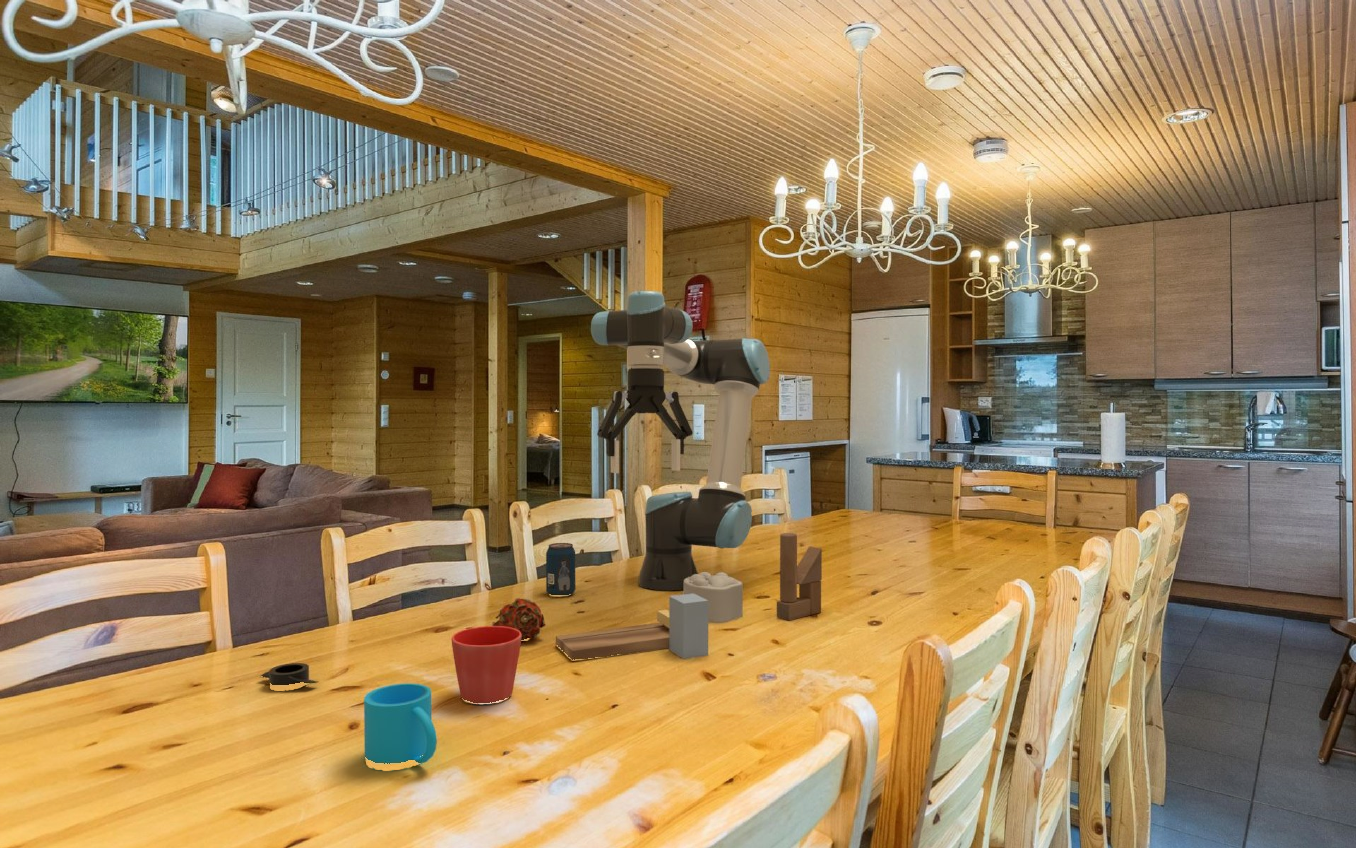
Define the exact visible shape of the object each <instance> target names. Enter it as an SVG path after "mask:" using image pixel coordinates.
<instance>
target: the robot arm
mask: <svg viewBox="0 0 1356 848" xmlns="http://www.w3.org/2000/svg"><path fill="white" fill-rule="evenodd" d="M626 308H627V309H623V310H621V309H620V310H605V311H600V312H597V313H595V314H594V316H593V317H592V319H591V322H590V324H591V326H590V333H591V336H592V339H593V340H594V342H595V343H596V344H598V345H600V346H607V347H608V346H617V347H620V348H623V349H625V350H627V356H626V357H627V359H626V360H627V361H626V362H627V363H626V365H627V366H628V367H629V369H628V370H627V374H626V375H627V383H626V385H627V390H626V392H622V391H619V390H617V391H616V390H614V391H613V392H612V398H611V403H610V405H609V408H607V411H606V413H605V416H604V418H603V420H602V422H601V423H600V426H599V429H598V430H597V432H596V435H597V437H598V438H602V439H604V440H605V441H606V447H605V448H606V456H607V457H610V473H613V474H620V441H619V440H615V439H616V438H618V436H619V435H620V433H621V432H622V430H623V429H624V428H625V427H626V426H627V424H628V423H629V422H630V420H631V419H632V418H633V416H635V415H636V414H656V416H658V418H660V420H661V421H662V423H664V425H665V426H666V427H667V429H668V430H669V431H670V432H671V434H672V435H673V436H674V438H671V440H670V441H671V443H670V444H671V449H670V451H671V452H670V453H671V471H674V472H675V471H676V472H681V455H684V452H685V439H687V437H690V436H692V435H693V434H694V433H693V430H692V428H691V425H690V424H689V422H688V419H687V417H686V415H685V412H684V410H683V407H682V406H681V404H680V399H679V392H678V391H669V392H665V389H664V388H665V370H664V369H663V368H662V367H664V366H665V367H666V368H667V369H668V371H669V372H671V373H672V374H674V375H677V376H679V377H681V378H684V379H687V380H689V381H692V382H696V383H699V384H706V385H713V388H714V390H715V391H716V392H717V393H718V396H717V397H718V398H717V404H716V410H715V412H716V413H715V419H714V427H713V433H712V441H711V448H710V454H709V455H710V456H709V463H708V471H707V476H706V483H705V484H704V485H703V486H701V488H700V489H699V490H698V495H697V498H695V497H693V494H692V492H691V491H678V492H667V493H661V494H655V495H650V496H648V498H647V499H646V503H645V513H644V515H645V555H644V558H643V562H642V565H641V568H640V572H639V573H638V586H640V585H641V586H640V587H642V588H644V587H646V588H645V589H648V588H649V589H648V590H655V591H679V590H681V591H682V590H683V587H684V580H685V579H686V578H688V577H691V576H692V575H694V574H699V572H698V570H697V569H698V568H697V566H696V563H695V561H694V558H693V553H692V552H693V551H692V547H693V546H697V547H698V546H699V547H710V548H718V549H736V548H738V547H740V546H742V545H743V543H744V542H745V541H746V539H747V538H748V536H749V532H750V530H751V526H752V521H753V515H752V512H753V510H752V506H751V504H750V503H749V502H748V501H746V494H745V493H744V491H743V489H742V488H741V486H742V480H743V471H744V465H745V464H744V463H745V456H746V455H745V454H746V447H747V440H748V432H749V423H750V417H751V411H752V410H751V409H752V408H751V407H752V401H753V398H754V397H756V396H757V395H759V391H760V385H764V384H766V383H768V381H769V379H770V373H771V370H770V369H771V368H770V359H769V354H768V351H767V349H766V347H765V345H764V343H763V342H762V341H761V340H759V339H758V338H757V339H756V338H745V337H742V338H734V339H732V338H730V339H706V340H691V339H690V336H691V335H692V332H693V320H692V318H691V317H690V315H689V314H688V313H687V312H686V311H684V310H683V309H680V308H678V307H670V306H666V303H665V297H664V294H663V293H662V292H660V291H654V290H640V291H639V290H637V291H633V292H631V293H630V294H629V295H628V297H627V307H626ZM625 400H626V401H627V402H628V404H629V405H627V407H626V408H625V410H624V412H623V413H622V414H621V416H620V417H619V418H618V419H617V420H616V422H615V421H614V420H615V419H616V417H617V414H618V412H619V410H620V408H621V406H622V403H623V402H624V401H625ZM665 400H666V402H667V403H668V404H669V407H670V409H671V412H672V413H673V415H674V416H673V417H674V418H675V420H676V421H675V420H674V419H673V418H672V416H671V415H670V414H669V412H668V410H667V409H666V407H665V406H664V405H663V404H664V402H665ZM614 422H615V423H614ZM613 423H614V424H613ZM612 425H613V426H612Z"/></svg>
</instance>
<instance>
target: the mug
mask: <svg viewBox="0 0 1356 848" xmlns="http://www.w3.org/2000/svg"><path fill="white" fill-rule="evenodd" d="M363 703H364V705H363V706H364V707H363V708H364V709H363V712H364V713H363V714H364V715H363V718H364V719H363V721H364V722H363V723H364V725H363V726H364V734H363V735H364V738H363V739H364V758H365V757H366V758H367V759H368V760H371V761H373V762H375V763H384V764H385V763H387V764H388V763H389V764H390V763H401V762H406V761H408V760H415V761H416V762H418V763H421V764H423V763H427V762H428V761H429V760H430V759H431V758H433V756H434V754H435V752H436V749H437V742H438V739H437V732H436V728H435V725H434V722H433V720H432V690H431V688H430V687H429V686H427V685H425V684H420V683H413V682H412V683H410V682H408V683H397V684H389V685H384V686H381V687H379V688H375V689H372V690H371V691H369V692H368V693H366V694H365V696H364V697H363ZM422 755H423V756H422ZM420 756H421V757H420Z"/></svg>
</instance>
